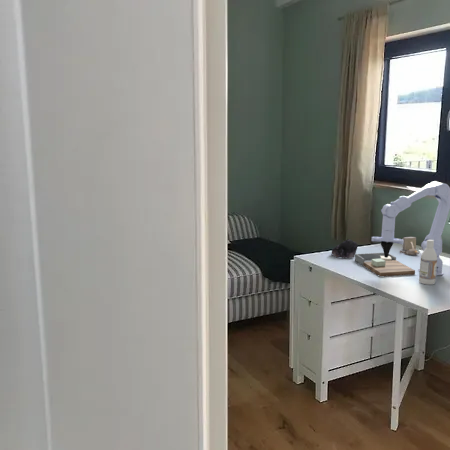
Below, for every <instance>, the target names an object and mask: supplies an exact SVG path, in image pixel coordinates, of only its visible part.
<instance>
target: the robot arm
mask: <svg viewBox="0 0 450 450" xmlns="http://www.w3.org/2000/svg"><path fill="white" fill-rule="evenodd" d="M427 196H432V197H433V196H434V197H435V199H436V200H437V202H438V204H437V207H436V211H435V215H434V218H433V220H432V223H431V227H430V230H429V233H428V234H427V235H426V236H425V238H424V240H423V241H422V242H421V243H420V244H421V249H422V250H423V251H424V250H425V249H426V247H427V240H434V247H433V249H434V250H435V252H436V254H437V268H436V276H443V275H444V273H443V263H444V262H443V260H442V259H441V258H440V255H441V254H442V252H443V238H442V234H443V232H444V229H445V225H446V222H447V219H448V215H449V213H450V186H449V185H448V184H447V183H444V182H439V181H438V180H434V181H431V182H430V183H427V184H425V185H424V186H422V187H420V188H419V189H418V190H416V191H415V192H413V193H411V194H410V195H408V196H405V195H401V196H399V197H398V198H397V199H396V200H394V201H390V203H387V204H386V203H385V204H384V205H383V206H382V209H380V211H381V214H382V223H381V236H371V242H378V243H379V242H380V245H381V248H382V251H383V253H384V257H386V258H388V254H390V251H391V249H392V246H393V245H394V244H400V245H403V242H404V240H403V238H402V239H401V238H396V237H395V228H396V227H395V226H396V217H397V216H398V214H399V213H400V212H401V213H402V212H403V211H405V210H407V209H408V208H410V207H411V206H412V204H413V203H414V202H416V201H418V200H420V199H422V198H424V197H427ZM423 251H422V252H423ZM417 270H418V271H419V272H420V268H417Z"/></svg>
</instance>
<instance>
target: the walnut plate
mask: <svg viewBox="0 0 450 450" xmlns="http://www.w3.org/2000/svg"><path fill="white" fill-rule="evenodd" d="M362 266H363V267H364V266H365V267H364V268H366V269H367V268H368V269H367V270H369V269H370V270H371V272H372V273H374V274H376V275H377V276H378V275H379V277H380V276H384V277H395V276H414V275H415V274H416V270H415V269H413V268H412V267H410V266H408V265H406V264H404V263H403V262H400V261H399V260H397V259H396V260H392V261H386V264H385V266H379V267H376V266H374V265H372V264H371V262H364V263H363V265H362ZM370 270H369V271H370Z"/></svg>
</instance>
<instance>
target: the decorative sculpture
mask: <svg viewBox="0 0 450 450" xmlns="http://www.w3.org/2000/svg"><path fill="white" fill-rule="evenodd" d="M402 240H404V242H403V244H401V245H402V246H401V247H402V250H399V253H400V254H403V255H407V256H409V255H410V256H417V255H419V254H420V252H419V251H418V250H417V249H416V248H417V237H416V236H406V237H403V238H402Z"/></svg>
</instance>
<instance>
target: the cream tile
mask: <svg viewBox="0 0 450 450" xmlns="http://www.w3.org/2000/svg"><path fill="white" fill-rule="evenodd" d="M380 259H383V260H384V261H392V258H391V257H390V256H388V258H386V257H384V256H380Z"/></svg>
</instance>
